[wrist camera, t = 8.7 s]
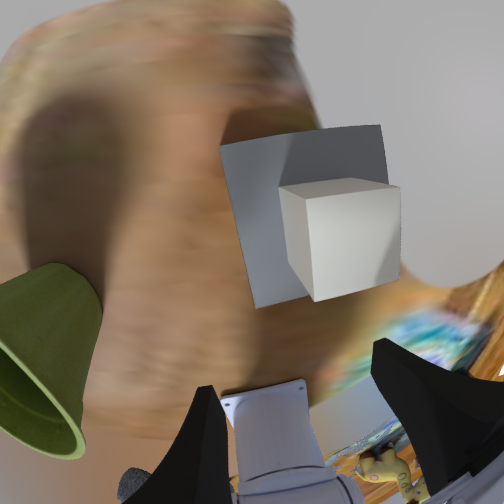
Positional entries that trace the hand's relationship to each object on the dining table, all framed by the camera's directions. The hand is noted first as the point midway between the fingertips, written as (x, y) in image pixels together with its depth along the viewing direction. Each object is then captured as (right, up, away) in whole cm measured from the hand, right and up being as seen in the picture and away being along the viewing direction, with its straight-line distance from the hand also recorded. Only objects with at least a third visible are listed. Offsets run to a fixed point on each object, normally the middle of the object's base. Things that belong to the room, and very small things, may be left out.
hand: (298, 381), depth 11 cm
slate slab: (+2, +9, +8) cm, 12 cm away
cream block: (+2, +7, +5) cm, 9 cm away
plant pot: (-17, +1, +8) cm, 19 cm away
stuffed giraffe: (+18, -27, +22) cm, 39 cm away
